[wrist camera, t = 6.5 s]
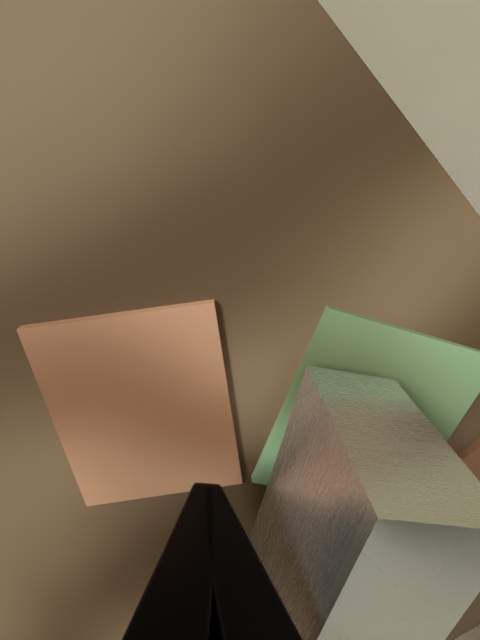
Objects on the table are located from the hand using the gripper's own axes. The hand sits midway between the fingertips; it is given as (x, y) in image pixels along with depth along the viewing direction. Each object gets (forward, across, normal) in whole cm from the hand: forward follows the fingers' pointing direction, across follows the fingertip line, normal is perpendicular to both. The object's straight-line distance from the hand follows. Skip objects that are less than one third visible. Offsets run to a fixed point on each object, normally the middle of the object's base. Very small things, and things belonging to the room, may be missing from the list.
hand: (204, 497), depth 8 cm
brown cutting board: (+3, -1, +4) cm, 5 cm away
